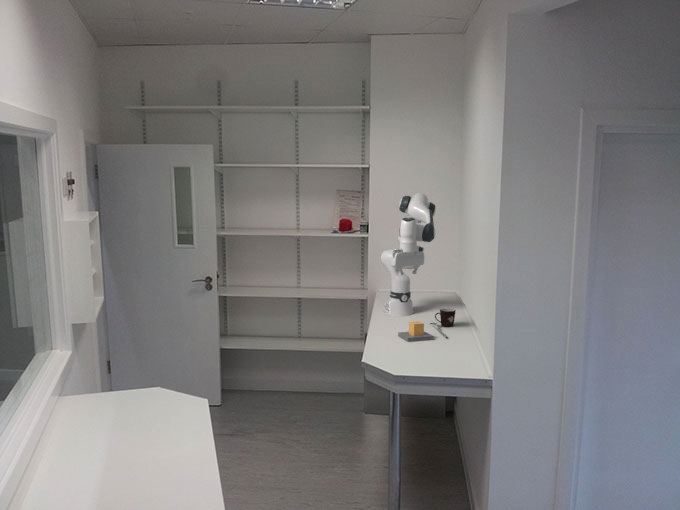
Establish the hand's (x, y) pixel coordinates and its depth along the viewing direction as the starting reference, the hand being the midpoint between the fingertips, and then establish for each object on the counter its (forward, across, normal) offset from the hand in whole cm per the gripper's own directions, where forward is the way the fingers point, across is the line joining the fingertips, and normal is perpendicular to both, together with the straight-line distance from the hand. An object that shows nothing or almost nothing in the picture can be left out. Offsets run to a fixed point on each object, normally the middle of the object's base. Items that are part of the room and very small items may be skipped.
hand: (407, 274), depth 311 cm
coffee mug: (+31, +25, -3) cm, 40 cm away
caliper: (+31, +18, -11) cm, 38 cm away
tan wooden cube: (+29, -4, -12) cm, 32 cm away
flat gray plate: (+31, -4, -12) cm, 34 cm away
